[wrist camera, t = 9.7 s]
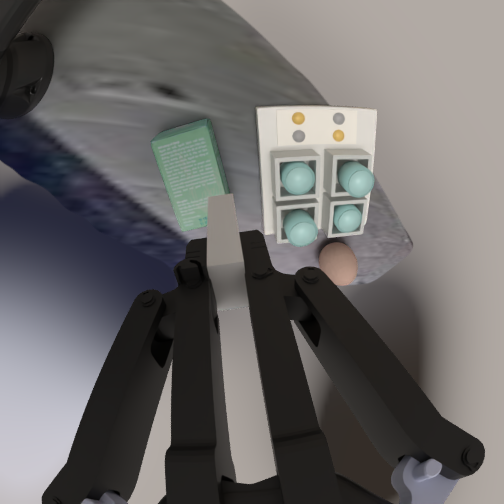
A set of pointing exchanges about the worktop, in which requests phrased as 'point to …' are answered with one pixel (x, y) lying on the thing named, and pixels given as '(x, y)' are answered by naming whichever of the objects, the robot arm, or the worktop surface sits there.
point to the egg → (338, 263)
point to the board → (312, 160)
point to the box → (190, 170)
